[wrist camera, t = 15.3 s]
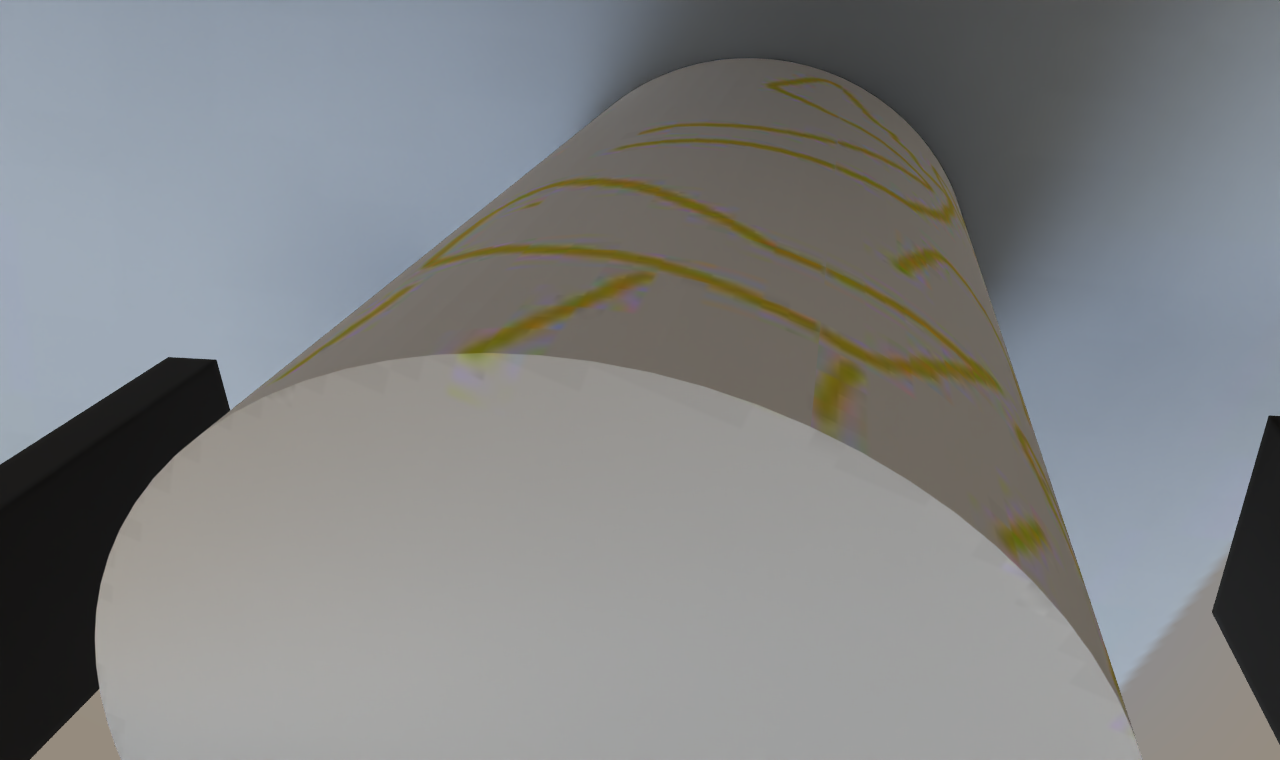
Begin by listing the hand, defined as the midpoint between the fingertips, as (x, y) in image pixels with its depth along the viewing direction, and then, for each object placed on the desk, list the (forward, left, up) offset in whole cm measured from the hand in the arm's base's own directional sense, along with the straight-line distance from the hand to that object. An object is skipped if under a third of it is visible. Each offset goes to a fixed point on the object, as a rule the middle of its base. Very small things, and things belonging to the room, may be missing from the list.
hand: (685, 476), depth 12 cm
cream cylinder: (0, 0, -7) cm, 7 cm away
